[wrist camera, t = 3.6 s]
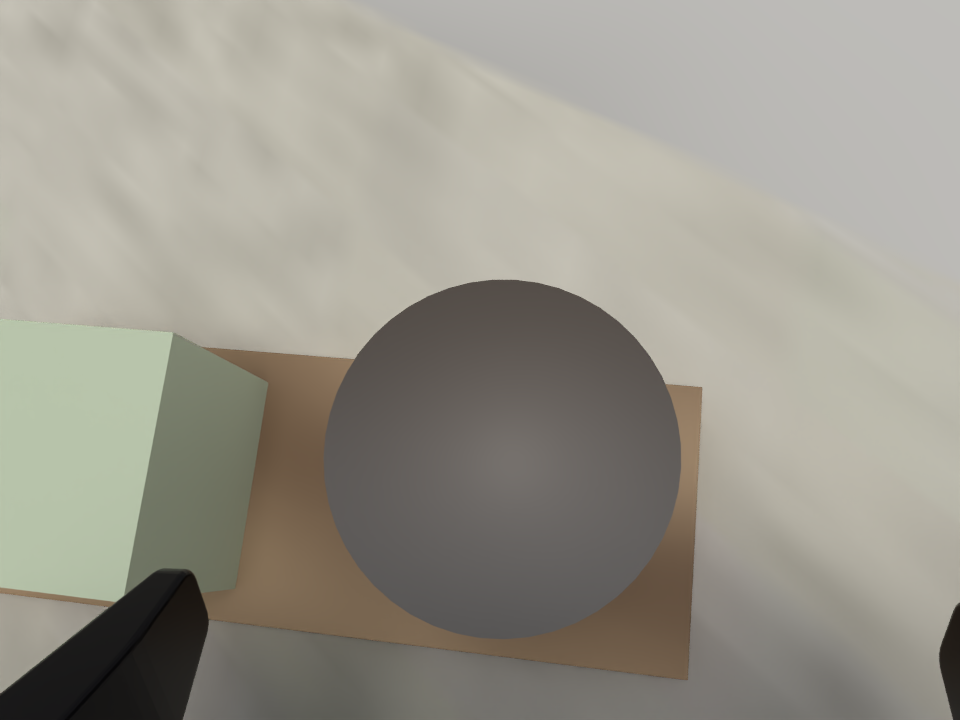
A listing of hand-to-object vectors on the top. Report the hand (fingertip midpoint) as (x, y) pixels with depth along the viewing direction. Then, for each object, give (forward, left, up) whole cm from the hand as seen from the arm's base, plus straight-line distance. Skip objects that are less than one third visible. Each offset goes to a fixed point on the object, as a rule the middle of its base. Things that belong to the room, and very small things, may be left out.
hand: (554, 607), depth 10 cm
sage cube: (+1, +9, -8) cm, 12 cm away
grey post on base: (+1, +5, -9) cm, 10 cm away
